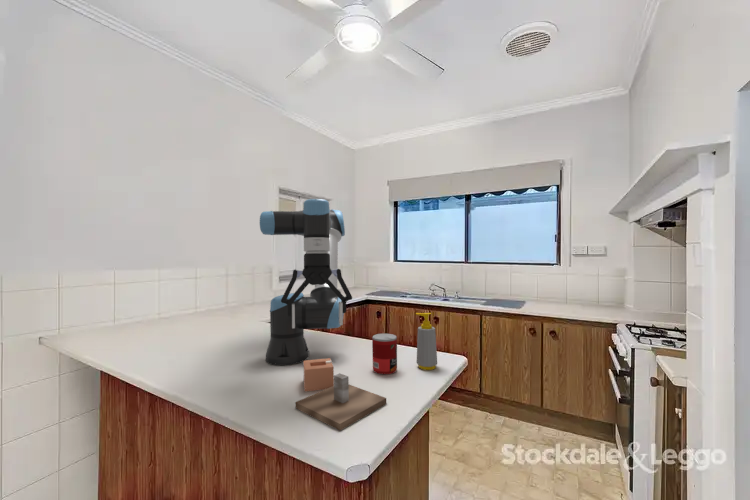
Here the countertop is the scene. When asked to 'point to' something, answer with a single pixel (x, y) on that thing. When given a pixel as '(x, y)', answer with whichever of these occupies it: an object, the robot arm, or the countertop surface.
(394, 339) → the canned food
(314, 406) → the base plate
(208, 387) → the countertop surface
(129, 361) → the countertop surface
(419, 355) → the soap bottle
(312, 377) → the orange open box
